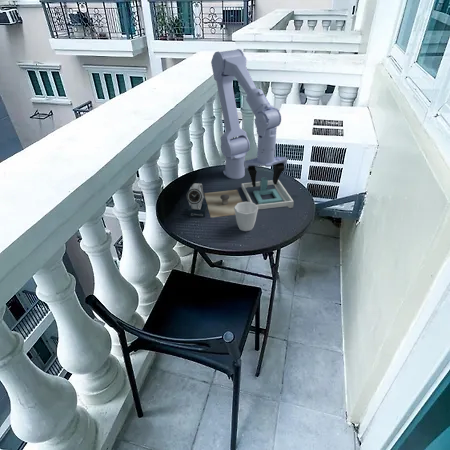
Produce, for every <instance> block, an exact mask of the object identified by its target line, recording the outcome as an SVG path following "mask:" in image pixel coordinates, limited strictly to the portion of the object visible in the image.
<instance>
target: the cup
mask: <svg viewBox="0 0 450 450" xmlns="http://www.w3.org/2000/svg"><path fill="white" fill-rule="evenodd" d="M256 205H257V204H256V203H254V202H253V203H251V202H248V200H247V201H242V202H241V203H238V204H237V205H236V206H235V207H234V210H235V215H234V216H235V221H236V224H237V227H238V228H239V230H240V231H242V232H249V231H252V230H253V228H254V227H255V225H256V220H257V216H258V211H259V210H258V207H257V206H256Z"/></svg>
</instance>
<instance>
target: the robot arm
mask: <svg viewBox="0 0 450 450" xmlns="http://www.w3.org/2000/svg"><path fill="white" fill-rule="evenodd" d="M210 63H211V69H212V73H213V78H214V80H215V81H216V86H217V87H216V88H217V91H218V96H219V103H220V106H221V108H220V109H221V112H222V118H223V123H224V128H225V131H224V132H223V134H222V135H221V137H220V150H221V154H222V155H223V156H224V157H225V159H224V160H225V163H224V164H225V165H224V166H225V169H224V170H223V171H222V172H223V174H224V175H223V176H226V177H227V178H229V179H232V180H238V179H242V178H244V177H245V175H246V172H245V171H246V169H247V171H248V173H249V176H250V180H251V182H252V185H253V187H252V188H255V185H256V182H257V181H256V179H257V178H256V177H257V170H256V169H257V168H256V167H266V168H269V167H272V166H273V174H272V175H273V177H272V180H273V183H274V184H275V185H276V184H277V181H278V180H280V179H279V178H280V176H281V175H282V173H283V172H284V170H285V168H286V167H285V165H288V159H287V157H286V156H275V154H276V141H277V128H278V127H279V126H280V125H281V122H282V115H281V112H280V110H279V108H277V107H274V106H273V105H271V103H270V101H269V100H268V98H267V97H266V95H265V92H264V91H263V89H261V88H258V87H256V85H255V82H254V80H253V78H252V75H251V74H250V72H249V70H248V68H247V57H246V56H245V53H244V51H243V50H242V49H241V48H237V49H233V50H223V51H215V52H214V53H213V55H212V59H211V62H210ZM234 79H236V81H237V82H238V83H239V85H240V86H241V88H242V89H243V91H244V92H245V94H246V97H245V101H246V104H247V105H248V106H249V108H250V110H251V111H252V114H253V115H254V117H255V118H254V123H255V127H256V135H257V150H256V151H257V154H256V156H257V157H255V158H251V159H247V160H246V156H247V154H248V152H249V151H250V149H251V143H250V140H249V138H248V133H247V131H245V130H244V129H242V128H241V126H240V121H239V113H238V110H237V103H236V98H235V92H234V87H233V86H234V85H233V81H234Z"/></svg>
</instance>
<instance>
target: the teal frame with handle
mask: <svg viewBox="0 0 450 450" xmlns="http://www.w3.org/2000/svg"><path fill="white" fill-rule="evenodd" d="M268 181H269V179H268V178H267V177H261V178H260V181H259V182H260V186H259V190H254V191H253V192H252V193H253V196H254V198H255V200H256V202H257V205H258V204H267V203H276V202H284V200H283V198H282V197H281V195H280V194H279V192H278V191H277V189H276V188H270V189H269V188H268V185H267V183H268ZM264 195H265V196H267V195H272V196H273V197H274V198H269V199H267V198H266V199H263V198H262V196H264Z"/></svg>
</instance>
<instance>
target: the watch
mask: <svg viewBox="0 0 450 450" xmlns="http://www.w3.org/2000/svg"><path fill="white" fill-rule="evenodd" d="M203 188H204V187H203V184H202V183H193V184H192V185H191V186H190V188H189V190H188V191H187V193H186V200H187V201H188V204H189V207H188V209H187V216H190V217H199V218H200V217H201V218H206V215H207V213H208V212H209V210H208V204H207V203H203V201H204V199H205V195H204V190H203Z"/></svg>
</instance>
